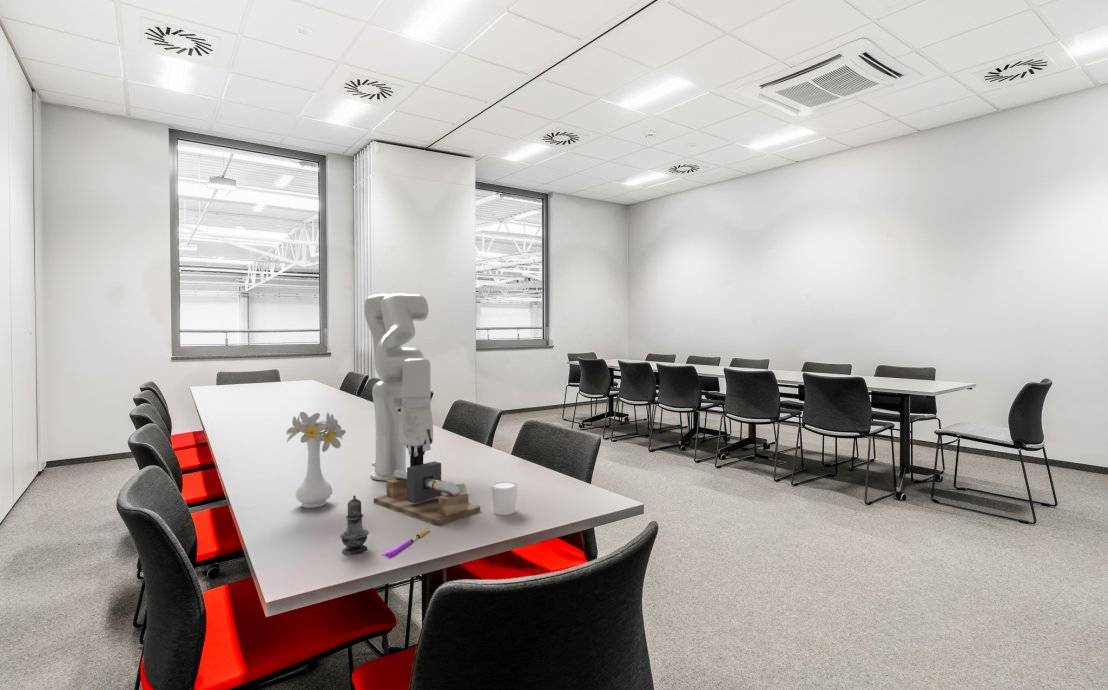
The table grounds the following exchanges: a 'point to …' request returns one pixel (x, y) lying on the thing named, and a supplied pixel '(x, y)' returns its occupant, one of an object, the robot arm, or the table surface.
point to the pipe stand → (426, 504)
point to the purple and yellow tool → (403, 545)
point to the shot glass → (504, 497)
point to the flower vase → (315, 456)
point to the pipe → (432, 484)
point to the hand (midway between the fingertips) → (416, 469)
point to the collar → (416, 481)
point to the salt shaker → (354, 530)
